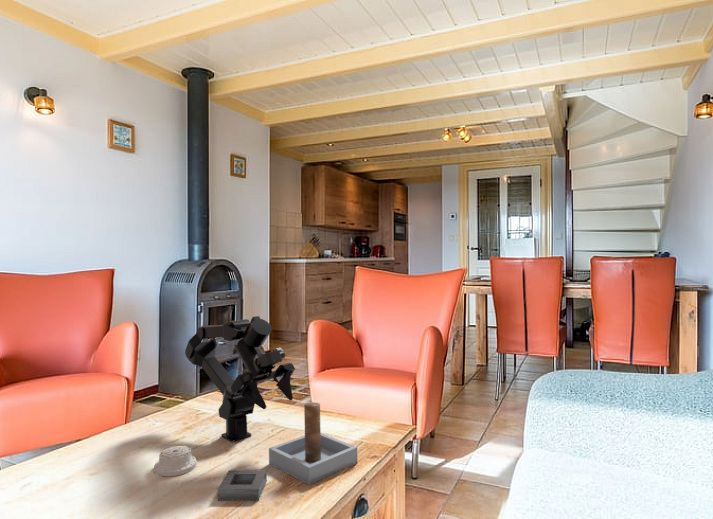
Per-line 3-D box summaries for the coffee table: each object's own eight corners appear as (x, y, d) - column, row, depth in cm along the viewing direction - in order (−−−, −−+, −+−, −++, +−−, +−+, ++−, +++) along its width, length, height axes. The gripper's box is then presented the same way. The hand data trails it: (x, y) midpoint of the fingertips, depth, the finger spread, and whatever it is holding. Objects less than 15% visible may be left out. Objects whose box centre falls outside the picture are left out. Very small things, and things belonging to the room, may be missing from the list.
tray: (269, 463, 122) (268, 448, 122) (316, 445, 133) (316, 431, 133) (309, 484, 111) (309, 467, 111) (357, 462, 122) (357, 447, 122)
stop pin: (303, 462, 120) (302, 407, 120) (307, 455, 124) (306, 402, 124) (318, 463, 120) (317, 407, 119) (322, 456, 124) (321, 402, 123)
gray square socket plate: (217, 500, 104) (217, 489, 104) (228, 480, 113) (228, 470, 113) (258, 500, 104) (258, 489, 104) (266, 480, 113) (266, 470, 113)
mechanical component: (145, 475, 116) (182, 479, 114) (145, 457, 116) (182, 461, 114) (169, 458, 126) (203, 461, 124) (169, 441, 126) (203, 444, 124)
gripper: (237, 344, 123) (265, 394, 116) (290, 334, 137) (318, 378, 131) (219, 370, 128) (245, 419, 121) (272, 357, 143) (298, 401, 136)
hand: (278, 403), depth 127 cm, fingers open, 9 cm apart
